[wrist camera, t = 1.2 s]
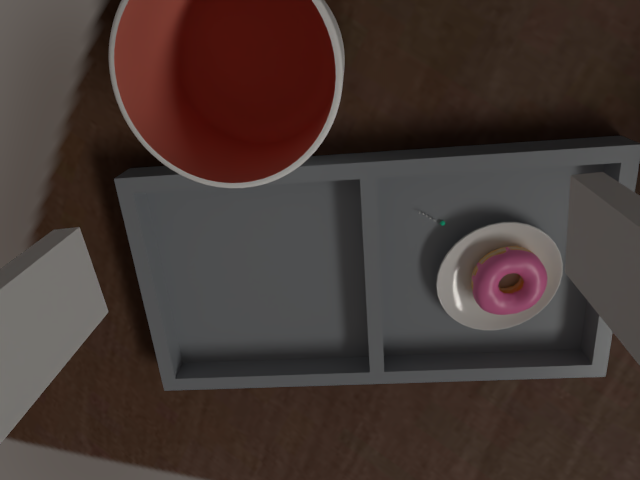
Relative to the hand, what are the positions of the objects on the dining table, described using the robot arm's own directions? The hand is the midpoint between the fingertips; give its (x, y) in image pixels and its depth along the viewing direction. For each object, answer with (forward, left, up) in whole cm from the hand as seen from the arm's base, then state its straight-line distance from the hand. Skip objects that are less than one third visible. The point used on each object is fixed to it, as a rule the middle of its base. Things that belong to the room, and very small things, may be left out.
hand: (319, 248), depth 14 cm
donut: (+10, +9, -19) cm, 24 cm away
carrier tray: (+10, +2, -20) cm, 22 cm away
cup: (-4, -4, -20) cm, 21 cm away
